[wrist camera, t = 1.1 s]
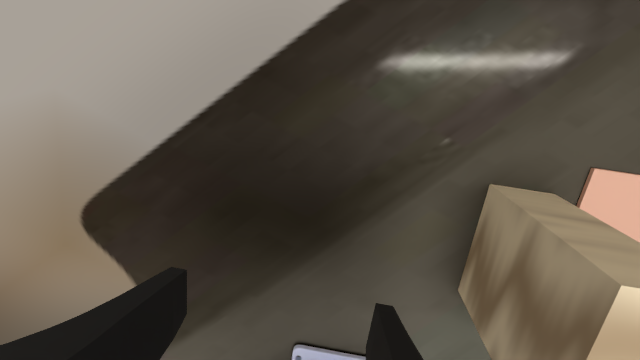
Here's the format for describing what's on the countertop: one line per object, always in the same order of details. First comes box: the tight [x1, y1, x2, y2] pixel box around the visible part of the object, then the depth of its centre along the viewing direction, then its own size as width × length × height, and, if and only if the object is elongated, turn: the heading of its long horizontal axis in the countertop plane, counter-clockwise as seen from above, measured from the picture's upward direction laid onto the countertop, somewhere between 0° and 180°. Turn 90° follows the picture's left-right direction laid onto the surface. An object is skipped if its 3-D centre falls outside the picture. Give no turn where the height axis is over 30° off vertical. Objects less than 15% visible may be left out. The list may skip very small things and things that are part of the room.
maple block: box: [458, 184, 640, 360], centre depth 17 cm, size 8×4×11 cm, turn 172°
